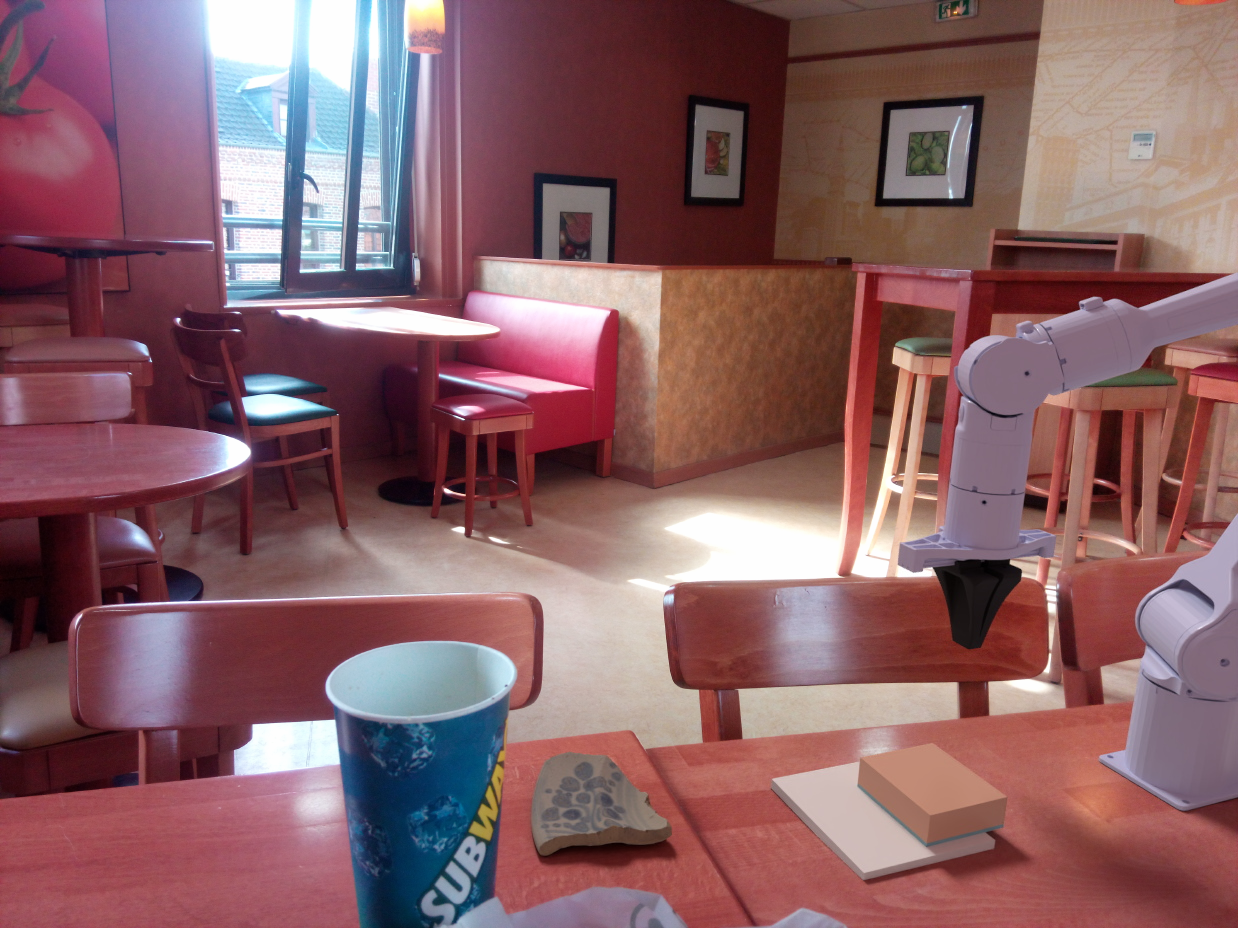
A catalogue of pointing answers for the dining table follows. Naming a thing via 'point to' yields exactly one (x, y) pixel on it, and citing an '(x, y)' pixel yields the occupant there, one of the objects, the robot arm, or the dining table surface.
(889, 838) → the pale grey mat
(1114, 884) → the dining table surface
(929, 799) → the glazed tile
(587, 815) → the ceramic fragment
